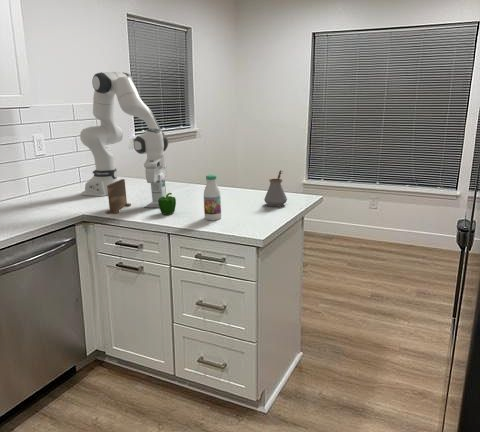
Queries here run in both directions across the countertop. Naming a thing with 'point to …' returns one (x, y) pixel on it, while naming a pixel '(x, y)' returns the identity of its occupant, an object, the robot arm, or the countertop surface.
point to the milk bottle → (212, 199)
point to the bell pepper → (167, 204)
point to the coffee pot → (275, 193)
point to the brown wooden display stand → (117, 197)
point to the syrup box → (159, 188)
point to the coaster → (152, 205)
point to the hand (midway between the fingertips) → (158, 188)
